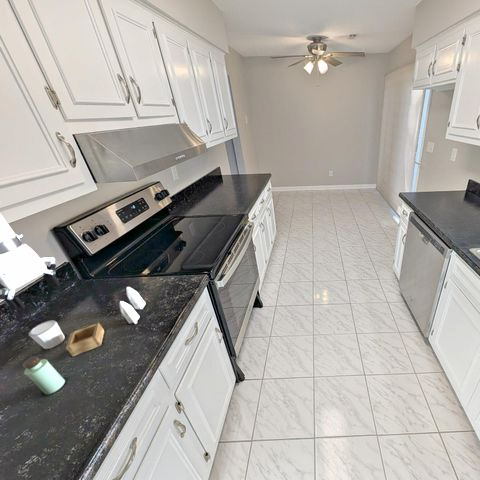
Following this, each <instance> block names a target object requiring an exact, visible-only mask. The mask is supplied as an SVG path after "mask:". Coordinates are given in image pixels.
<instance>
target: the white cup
mask: <svg viewBox="0 0 480 480" xmlns="http://www.w3.org/2000/svg"><path fill="white" fill-rule="evenodd" d="M28 336H29V338H31V339H32V340H33V341H35V342H36V343H37V344H38V345H39V346H40V347H42V348H43V349H44V350H48V349H52V348H55V347H56V346H59V345H60V344H61V343H63V342H64V341H65V339H66V337H65V334H64V333H63V331H62V329H61V327H60V326H59V324H58V322H57V321H56V320H46V321H44V322H41V323H40V324H37V325H36V326H34V327H33V328H32V329H30V330H29V331H28Z"/></svg>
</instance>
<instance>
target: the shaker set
mask: <svg viewBox="0 0 480 480" xmlns="http://www.w3.org/2000/svg"><path fill="white" fill-rule="evenodd" d="M125 291H126V297H127V298H128V300H129V302H130V303H131V304H132V305H131V304H129V303H127V302H125V301H124V300H120V301H119V303H118V304H119V310H120V313H121V314H122V316H123V317H124V319H125V320H126V321H127V323H128V324H134V325H136V324H138V320H139V319H140V318H141V317H140V314H138V313H137V311H136V310H143V309H144V307H145V306H146V301H145V300H144V299H143V297H142V296H141V295H140V293H139V292H138V291H137V290H135V289H134V288H132V287H131V286H126V288H125Z"/></svg>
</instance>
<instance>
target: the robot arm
mask: <svg viewBox="0 0 480 480" xmlns="http://www.w3.org/2000/svg"><path fill="white" fill-rule="evenodd" d="M23 238H24V235H23V234H22V233H15V232H14V230H13V229H12V228H11V225H9V223H8V222H7V220H6V219H5V217H4V216H3V215H2V213H0V300H4V302H5V303H6V304H7V305H8V306H9V307H10V308H11V309H15V310H24V309H25V308H26V305H25V304H24V302H23V301H22V300H21V299H20V297H19V296H15V293H16V289H18V288H20V287H22V286H24V285H26V284H28V283H30V282H31V281H34V279H37V278H38V277H40V276H42V275H43V279H44V280H45V282H46V283H47V284H48V286H49V287H60V286H61V283H60V282H59V279H58V277H57V276H56V271H55V270H56V268H57V265H56V257H54V256H48V257H45V256H44V257H40V256H39V255H38V254H37V252H35V251H34V250H33V248H31V246H29V245H28V244H26V242H23V241H22V239H23ZM46 263H47V265H46Z"/></svg>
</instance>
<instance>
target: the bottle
mask: <svg viewBox="0 0 480 480" xmlns="http://www.w3.org/2000/svg"><path fill="white" fill-rule="evenodd" d="M22 366H23V367H24V368H25V370H24V371H23V374H24V375H25V376H26V378H28V379H29V380H30V382H31V383H32V384H34V385H35V386H36V387H37V388H38V389H39V390H40V391H41V392H42V393H43V394H44V395H51V394H53V393H56V392H57V391H59V390H60V389H61V388H62V387H63V386H64V384H65V382H66V379H65V378H64V377H63V376H62V375H61V374H60V373H59V372H58V371H57V370H56V368H55V367H54V366H53V365H52V364H51V362H50V361H48V359H46V358H44V359H40V358H39V357H38V356H36V355H35V356H31V357H29V358H27V359H26V360H25V361H24V362H23V363H22Z"/></svg>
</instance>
